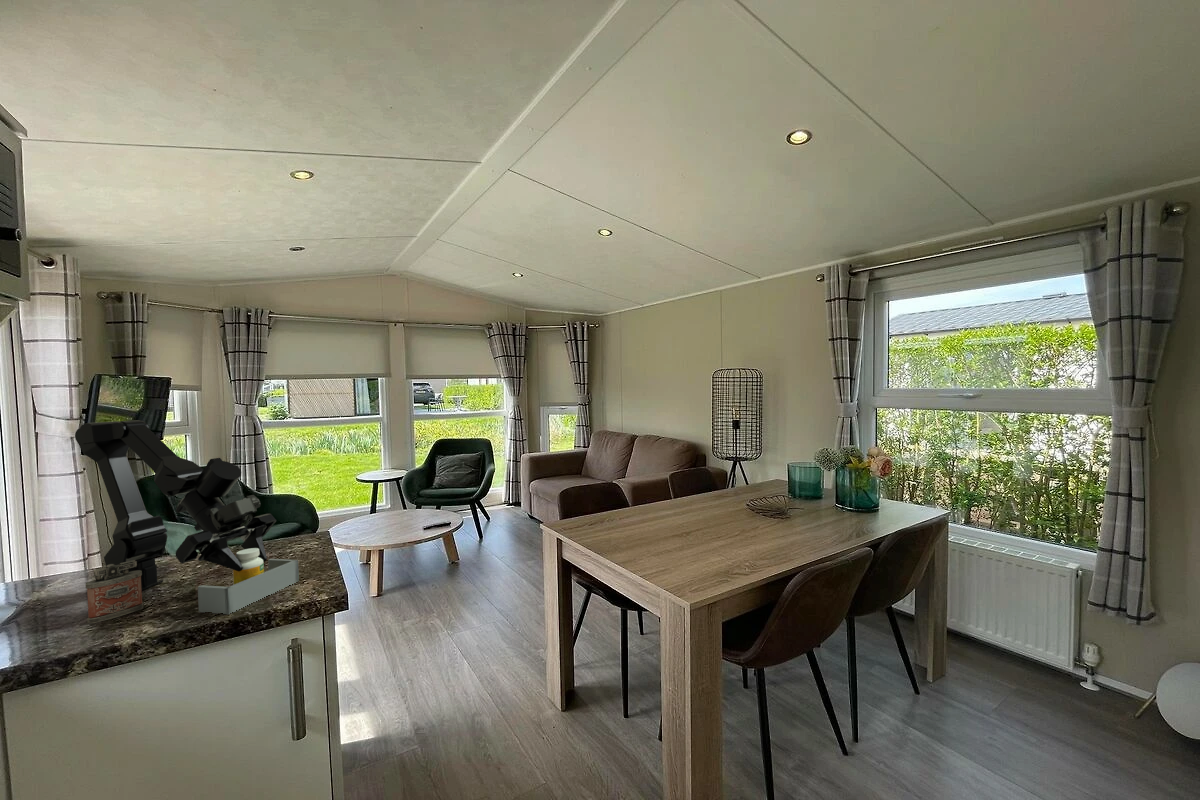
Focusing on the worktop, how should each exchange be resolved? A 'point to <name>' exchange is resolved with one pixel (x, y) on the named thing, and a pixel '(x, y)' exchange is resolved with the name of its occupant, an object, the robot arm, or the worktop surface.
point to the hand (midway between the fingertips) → (253, 565)
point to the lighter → (114, 592)
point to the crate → (248, 588)
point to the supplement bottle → (248, 565)
